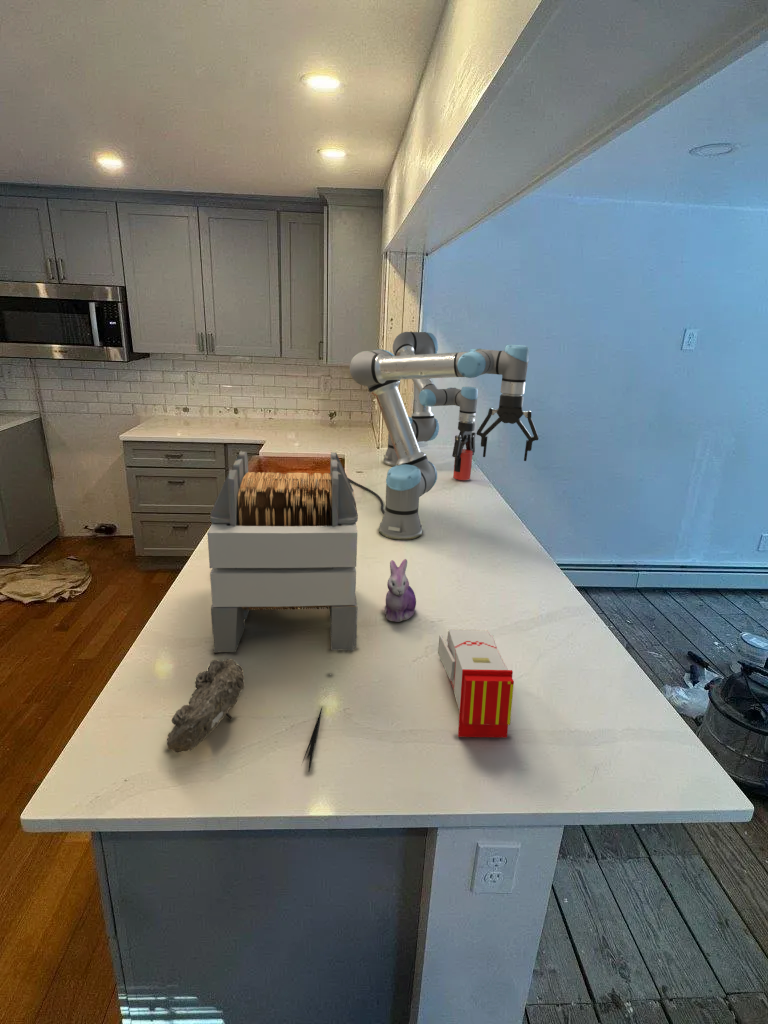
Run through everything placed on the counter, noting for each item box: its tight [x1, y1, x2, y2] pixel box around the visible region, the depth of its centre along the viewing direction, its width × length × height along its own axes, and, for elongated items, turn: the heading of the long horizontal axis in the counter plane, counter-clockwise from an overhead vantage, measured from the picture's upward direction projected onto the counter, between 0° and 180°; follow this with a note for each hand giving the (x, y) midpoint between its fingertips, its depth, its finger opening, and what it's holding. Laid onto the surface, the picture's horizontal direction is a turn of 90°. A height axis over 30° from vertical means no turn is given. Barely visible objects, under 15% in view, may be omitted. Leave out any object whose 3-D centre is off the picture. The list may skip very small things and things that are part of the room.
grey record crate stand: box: [206, 450, 359, 654], centre depth 137 cm, size 34×33×41 cm
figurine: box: [384, 558, 417, 623], centre depth 145 cm, size 9×10×15 cm
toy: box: [437, 628, 515, 738], centre depth 117 cm, size 12×13×30 cm
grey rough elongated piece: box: [166, 658, 245, 754], centre depth 106 cm, size 22×10×15 cm
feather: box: [301, 673, 332, 771], centre depth 108 cm, size 2×28×2 cm
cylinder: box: [452, 448, 474, 481], centre depth 265 cm, size 8×8×13 cm
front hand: (504, 458), depth 191 cm, fingers open, 13 cm apart
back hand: (462, 469), depth 266 cm, fingers closed on cylinder, 8 cm apart
